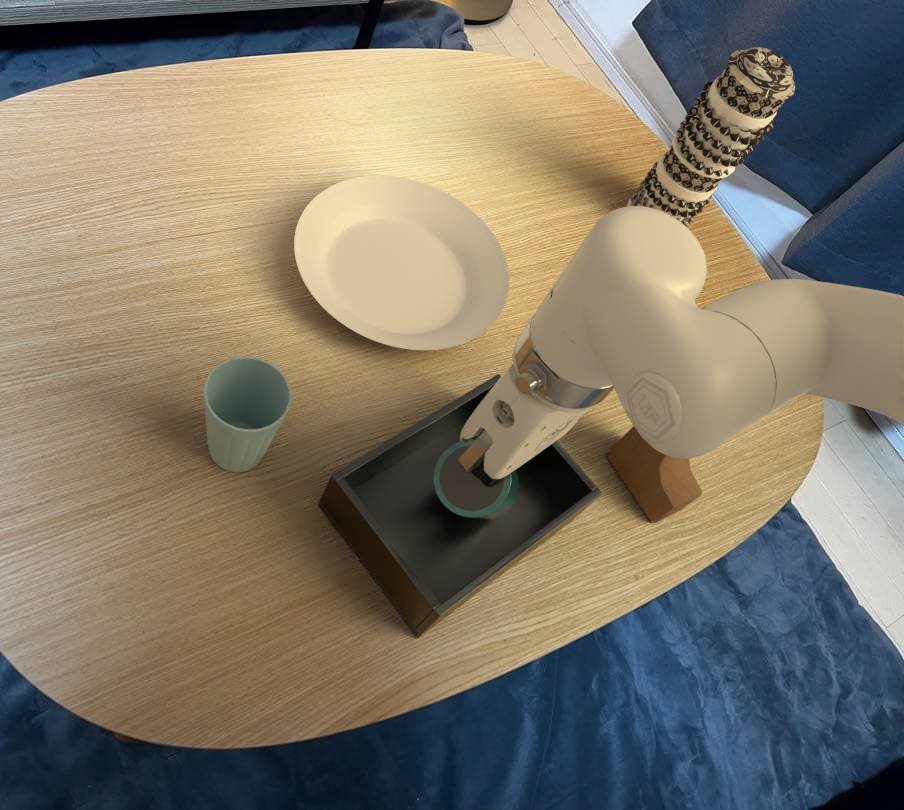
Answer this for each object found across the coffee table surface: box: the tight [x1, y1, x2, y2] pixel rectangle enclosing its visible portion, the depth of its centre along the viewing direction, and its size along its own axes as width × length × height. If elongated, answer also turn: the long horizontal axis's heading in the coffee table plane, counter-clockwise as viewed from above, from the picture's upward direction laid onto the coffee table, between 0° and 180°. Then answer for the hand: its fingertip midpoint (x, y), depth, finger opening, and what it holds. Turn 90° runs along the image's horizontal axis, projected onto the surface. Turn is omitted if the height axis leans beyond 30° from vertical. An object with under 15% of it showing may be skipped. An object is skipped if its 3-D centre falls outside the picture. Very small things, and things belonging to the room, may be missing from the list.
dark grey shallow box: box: [317, 373, 603, 639], centre depth 81 cm, size 16×22×7 cm
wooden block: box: [605, 425, 703, 524], centre depth 84 cm, size 9×4×18 cm, turn 28°
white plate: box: [293, 174, 510, 351], centre depth 97 cm, size 25×25×4 cm
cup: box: [203, 355, 293, 473], centre depth 78 cm, size 8×8×10 cm
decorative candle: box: [626, 46, 796, 229], centre depth 103 cm, size 9×9×25 cm
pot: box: [433, 440, 519, 520], centre depth 80 cm, size 7×7×8 cm
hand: (481, 469), depth 75 cm, fingers closed
